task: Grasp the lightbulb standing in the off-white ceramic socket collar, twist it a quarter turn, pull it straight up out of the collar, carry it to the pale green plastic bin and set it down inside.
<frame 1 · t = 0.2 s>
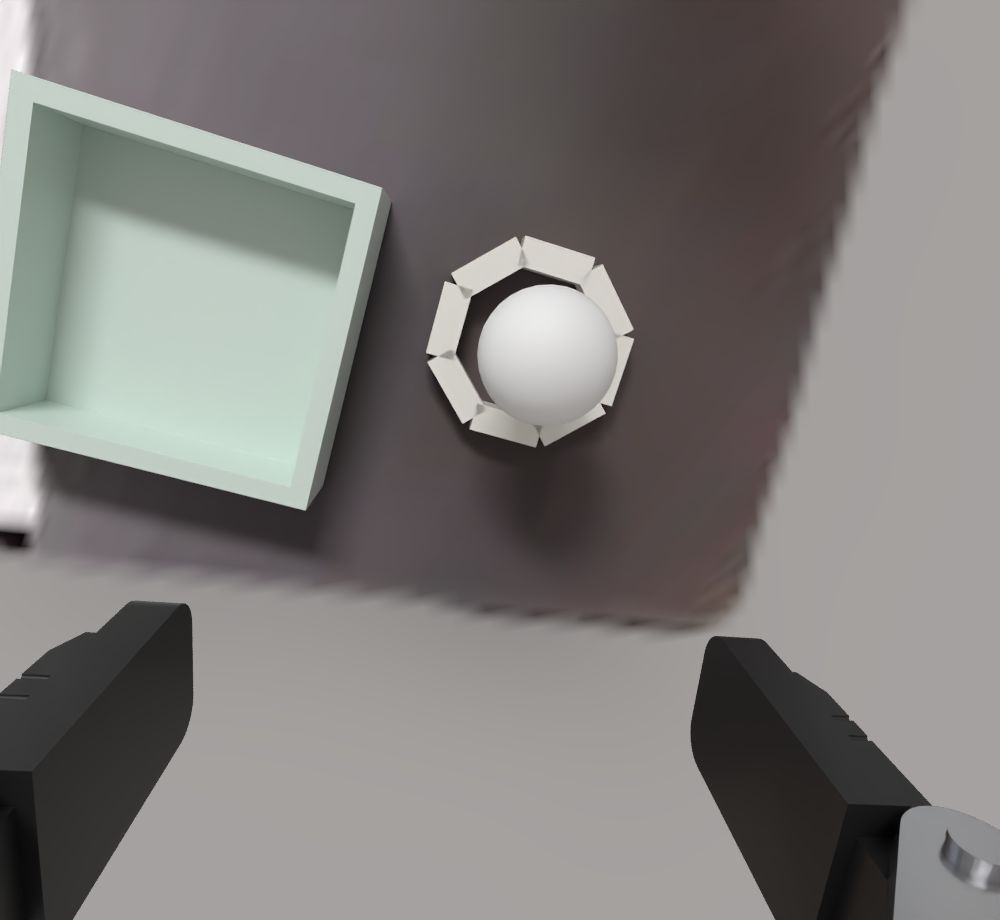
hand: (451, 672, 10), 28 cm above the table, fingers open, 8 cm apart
lightbulb: (527, 343, 36), resting in socket collar
bin: (207, 308, 35), on the table
socket collar: (527, 343, 36), on the table
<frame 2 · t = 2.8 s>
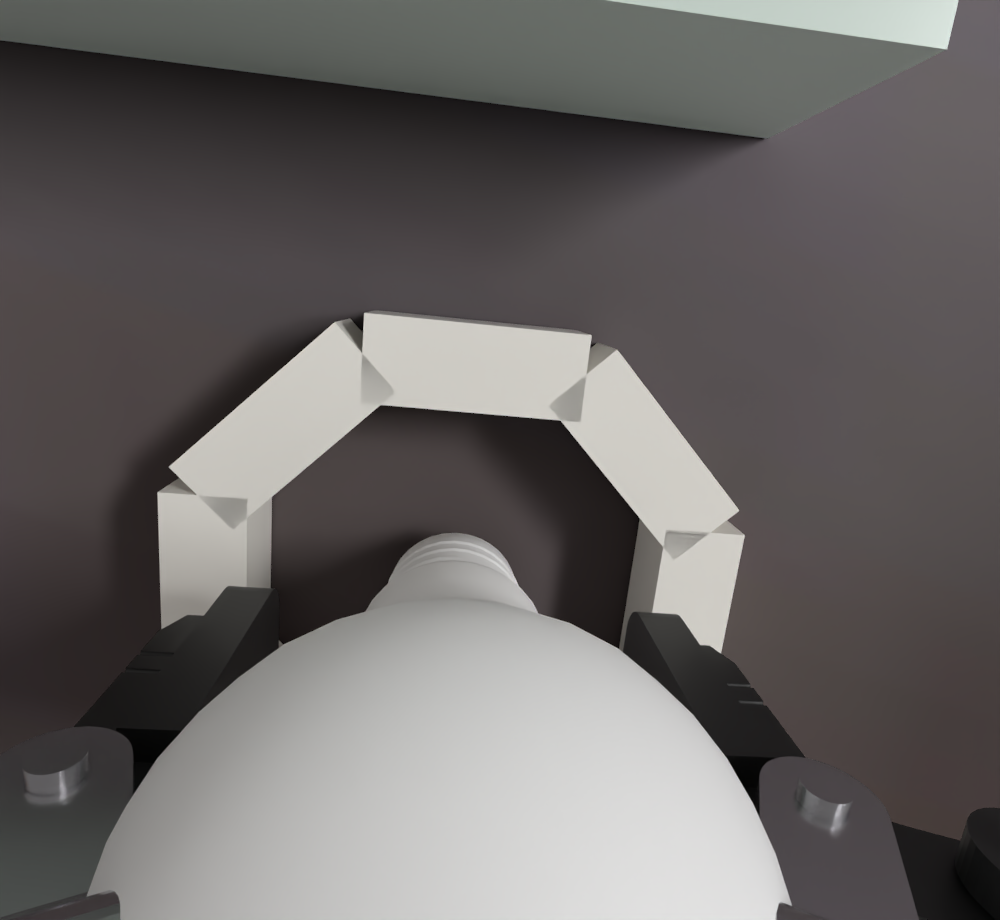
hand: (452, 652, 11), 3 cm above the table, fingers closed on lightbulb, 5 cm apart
lightbulb: (453, 571, 14), resting in socket collar, touching gripper
socket collar: (454, 575, 14), on the table
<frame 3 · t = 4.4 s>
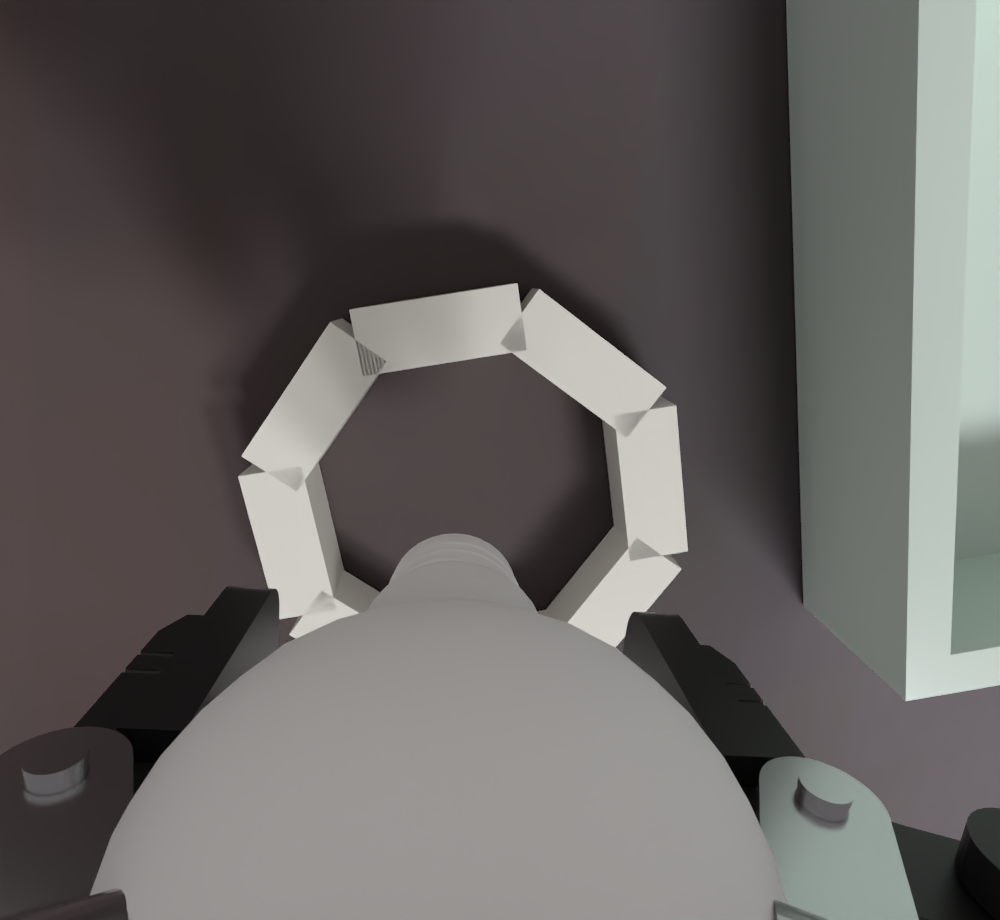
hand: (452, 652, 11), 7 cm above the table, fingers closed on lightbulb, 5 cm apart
lightbulb: (454, 571, 14), point 4 cm above the table, touching gripper
socket collar: (470, 494, 17), on the table
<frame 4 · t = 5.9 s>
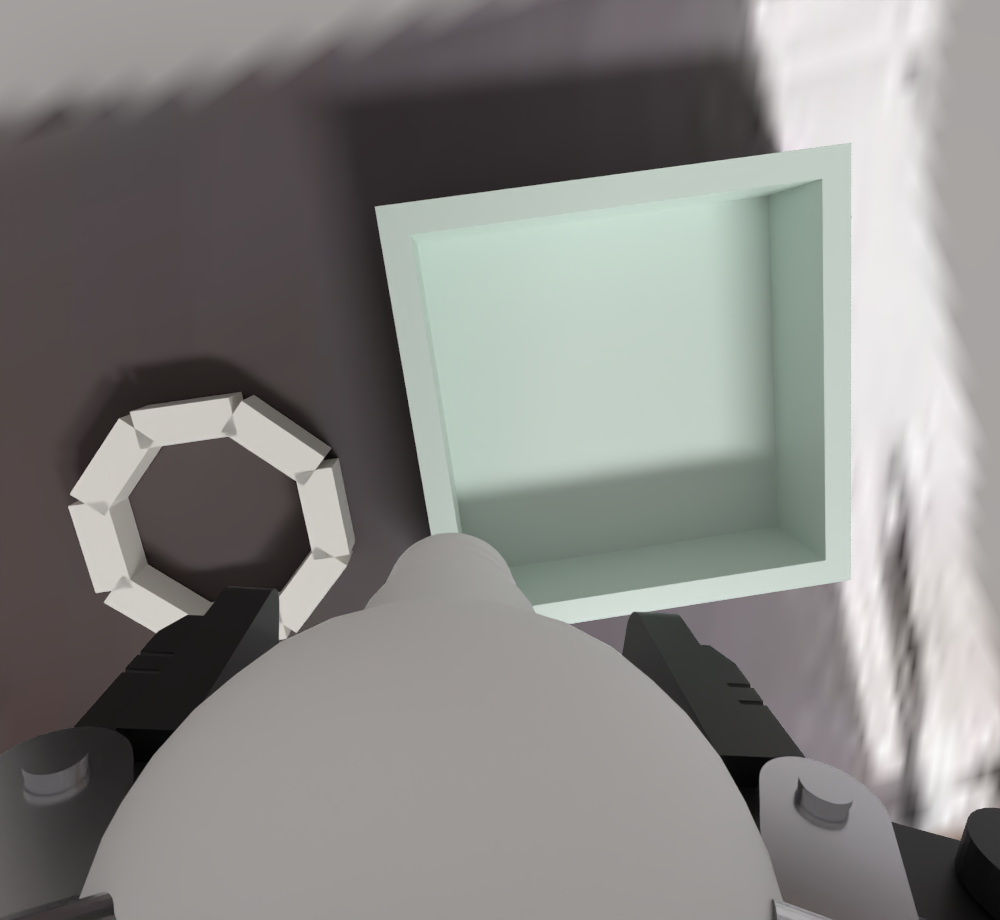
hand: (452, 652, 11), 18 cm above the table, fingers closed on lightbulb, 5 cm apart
lightbulb: (451, 570, 14), point 14 cm above the table, touching gripper
bin: (607, 393, 28), on the table
socket collar: (225, 518, 28), on the table
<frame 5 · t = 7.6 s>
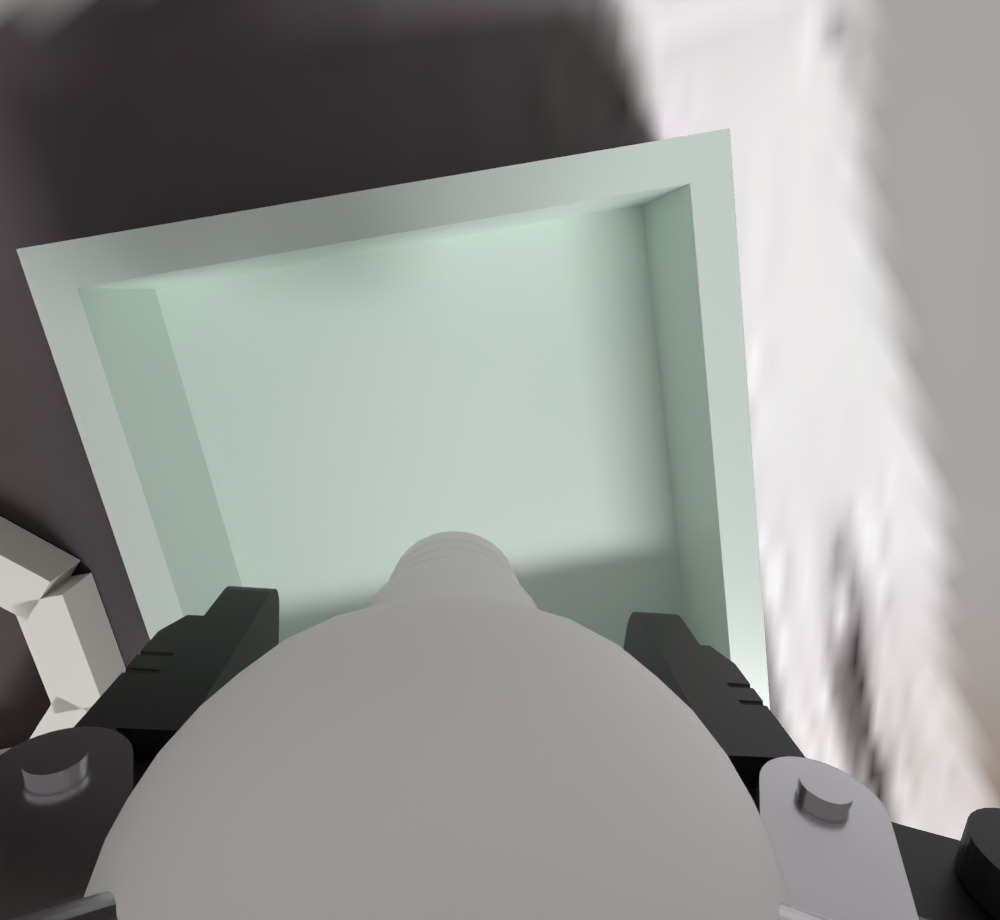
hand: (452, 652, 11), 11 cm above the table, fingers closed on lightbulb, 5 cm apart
lightbulb: (454, 569, 14), point 7 cm above the table, touching gripper
bin: (446, 474, 21), on the table
when the fingers open (6 cm above the table, at t = 9.0 s): lightbulb drops 2 cm, resting on bin.
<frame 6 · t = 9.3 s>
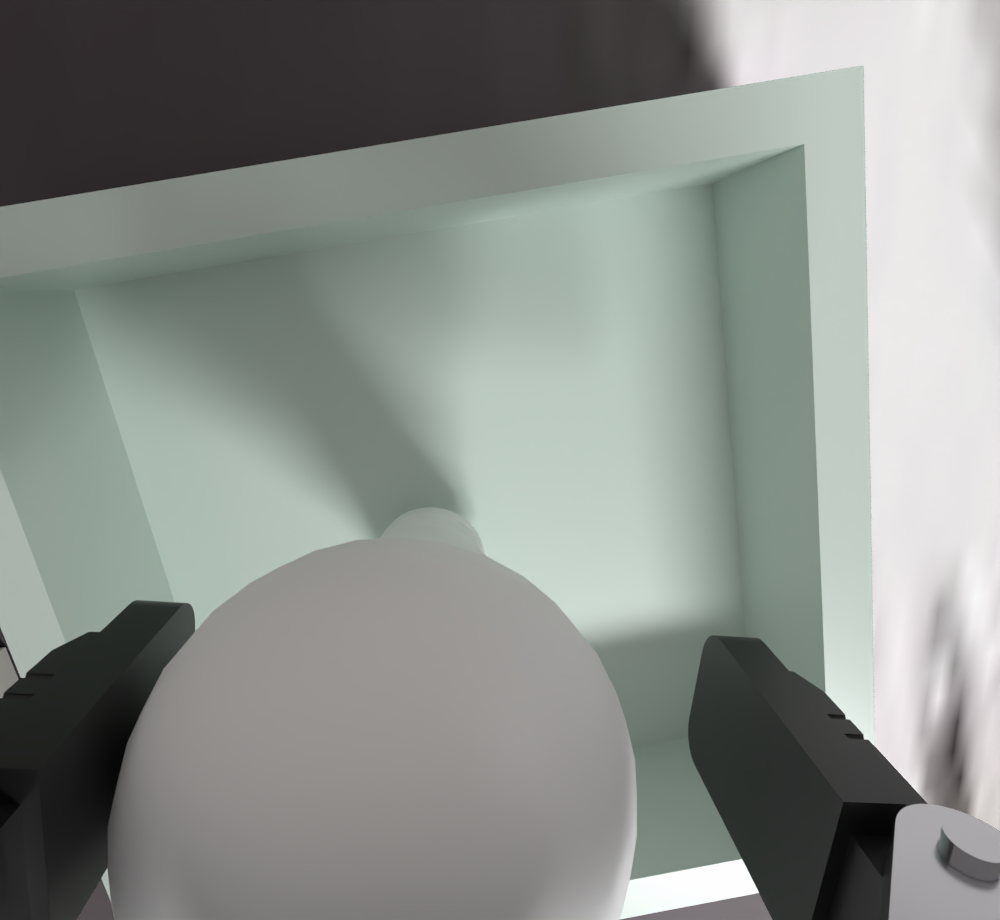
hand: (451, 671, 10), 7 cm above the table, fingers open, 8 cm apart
lightbulb: (434, 542, 16), resting on bin
bin: (454, 526, 16), on the table
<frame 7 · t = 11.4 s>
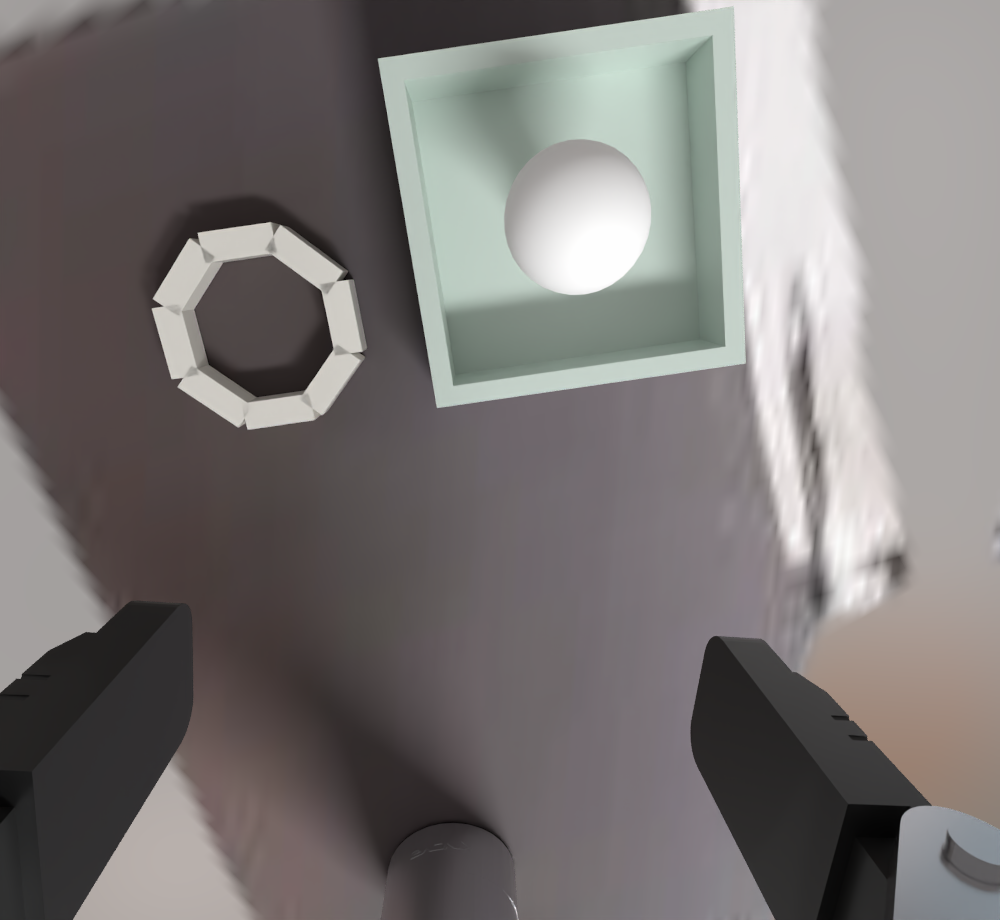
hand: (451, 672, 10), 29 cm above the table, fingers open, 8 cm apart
lightbulb: (553, 232, 35), resting on bin
bin: (562, 227, 36), on the table
socket collar: (267, 327, 36), on the table
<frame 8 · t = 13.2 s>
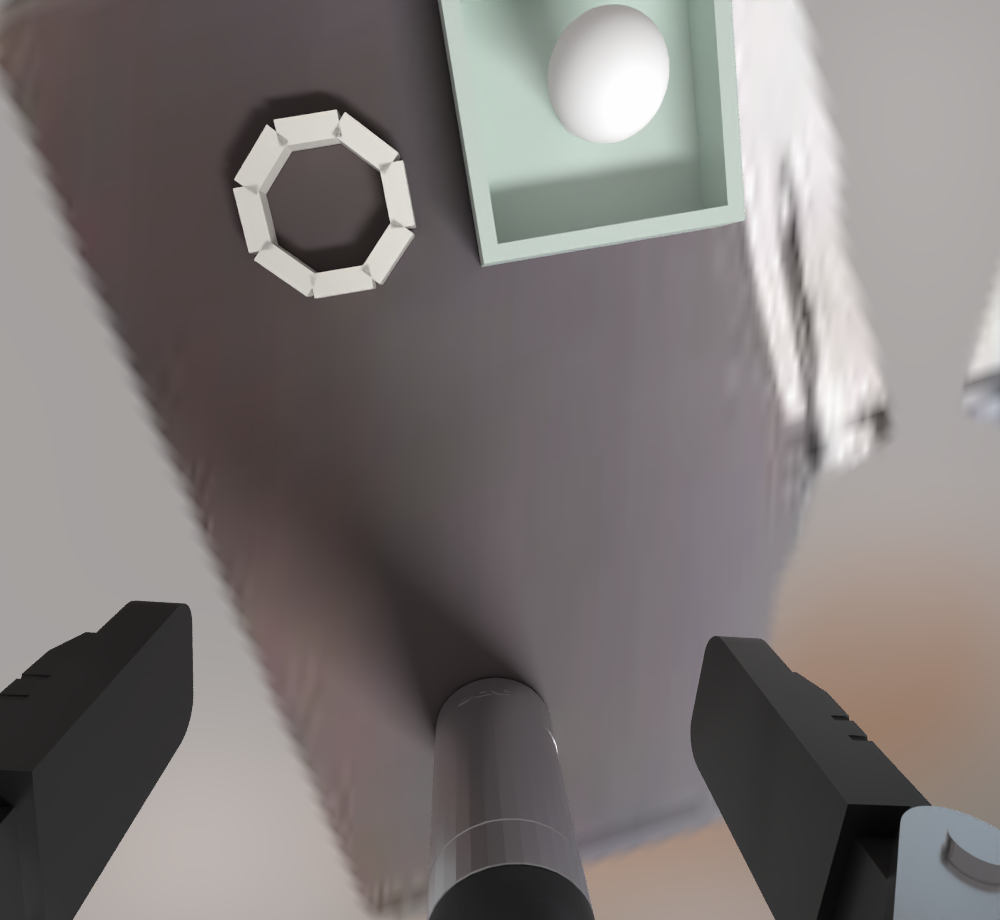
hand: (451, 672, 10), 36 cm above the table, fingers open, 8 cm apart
lightbulb: (577, 119, 41), resting on bin
bin: (584, 116, 41), on the table
socket collar: (330, 210, 42), on the table
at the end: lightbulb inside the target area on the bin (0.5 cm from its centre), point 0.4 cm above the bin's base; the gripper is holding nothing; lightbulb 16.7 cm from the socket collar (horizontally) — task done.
